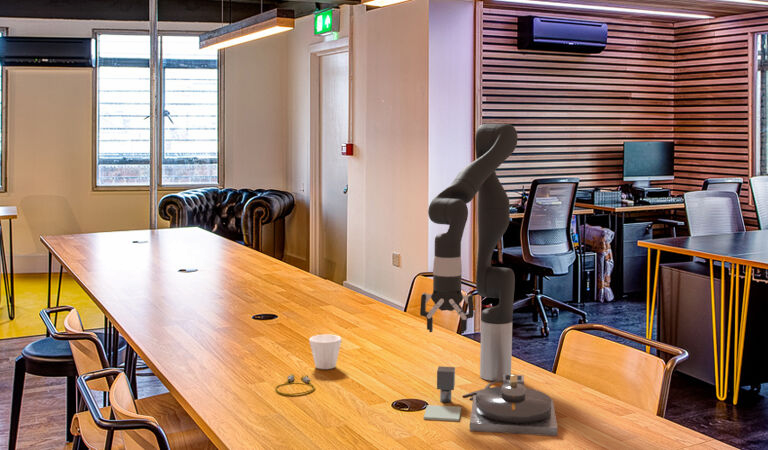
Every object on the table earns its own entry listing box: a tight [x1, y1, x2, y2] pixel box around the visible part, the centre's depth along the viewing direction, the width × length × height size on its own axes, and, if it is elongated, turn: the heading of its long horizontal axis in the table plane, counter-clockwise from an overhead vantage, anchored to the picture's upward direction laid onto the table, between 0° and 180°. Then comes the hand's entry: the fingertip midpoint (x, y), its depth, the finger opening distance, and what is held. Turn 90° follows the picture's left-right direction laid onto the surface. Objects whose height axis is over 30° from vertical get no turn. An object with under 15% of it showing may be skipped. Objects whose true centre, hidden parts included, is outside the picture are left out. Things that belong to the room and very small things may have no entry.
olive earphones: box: [274, 373, 316, 397], centre depth 225 cm, size 12×16×2 cm
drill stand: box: [469, 395, 559, 437], centre depth 200 cm, size 21×21×2 cm
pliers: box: [462, 381, 503, 401], centre depth 221 cm, size 10×1×20 cm
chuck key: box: [436, 365, 456, 404], centre depth 212 cm, size 4×4×9 cm
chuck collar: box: [476, 373, 552, 423], centre depth 200 cm, size 20×19×9 cm
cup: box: [308, 333, 342, 371], centre depth 243 cm, size 10×10×9 cm
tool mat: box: [423, 404, 462, 422], centre depth 203 cm, size 9×9×1 cm
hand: (446, 332), depth 211 cm, fingers open, 8 cm apart
